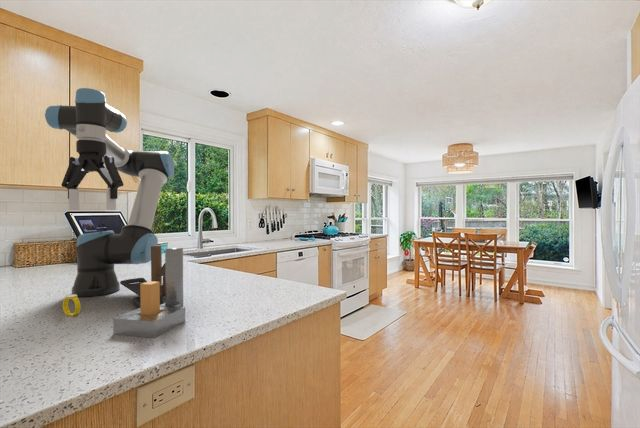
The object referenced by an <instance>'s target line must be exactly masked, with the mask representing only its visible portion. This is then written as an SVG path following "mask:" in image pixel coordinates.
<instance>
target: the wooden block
mask: <svg viewBox="0 0 640 428" xmlns="http://www.w3.org/2000/svg"><path fill="white" fill-rule="evenodd" d="M162 249H163V247H162V245H159V244H157V245H153V246H151V261H150V278H151V279H150V281H155V282H160V292H161V293H162V295H163V296H165V262H164V264H162V262H163V260H162V257H163V256H162V255H163V254H162Z"/></svg>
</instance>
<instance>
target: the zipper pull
mask: <svg viewBox="0 0 640 428" xmlns="http://www.w3.org/2000/svg"><path fill="white" fill-rule="evenodd" d="M145 282H148V281H147V279H145V278H144V277H138V278H136V277H135V278H129V279H124V280H121V281H119V284H120V285H122V287H125V288H126V289H128V290H130V291H131V292H133V293H135V294H136V295H137V296H136V297H134V298H132V305H133V306H134V307H135V309H138V308H141V300H140V284H142V283H145ZM164 303H166V297H164V295H162V293H161V292H160V305H161V304H164Z"/></svg>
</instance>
